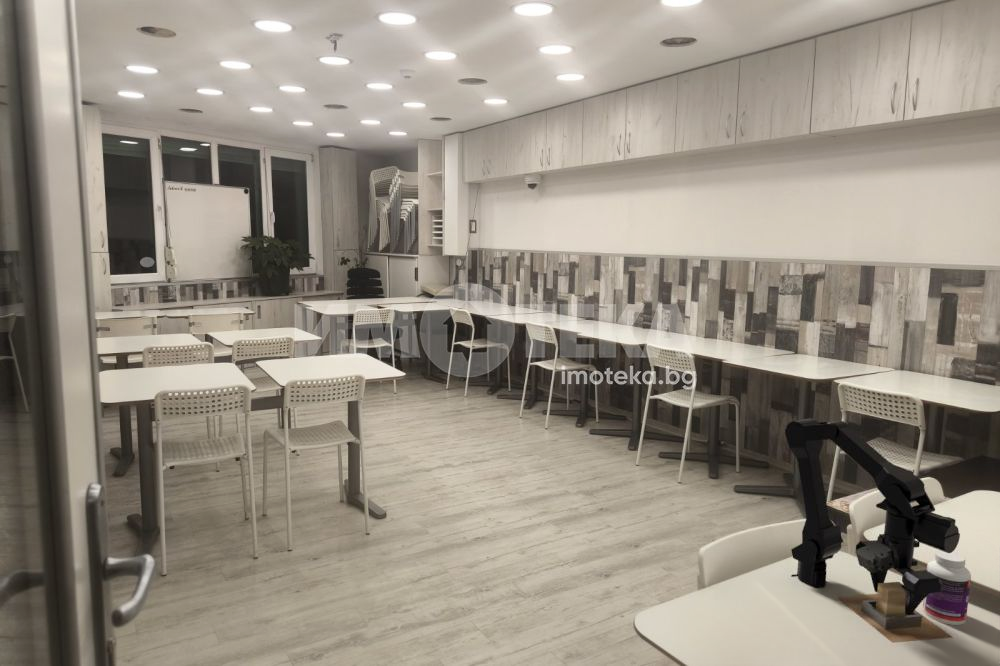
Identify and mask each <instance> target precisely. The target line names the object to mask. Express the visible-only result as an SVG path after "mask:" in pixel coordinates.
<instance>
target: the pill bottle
mask: <svg viewBox="0 0 1000 666" xmlns="http://www.w3.org/2000/svg"><path fill="white" fill-rule="evenodd" d="M926 571H928V572H929V573H931V574H933V575H934V576H936V577H937V578H939V579H940V581H941V582H942V585H941V592H935V593H930V594H929V595H928V596H927V597H925V598H924V599H923V601H922V612H923V614H925V615H926V616H928V618H930V619H932V620H935V621H938V623H939V622H940V623H942V624H947V625H952V626H953V625H954V626H958V625H959V626H960V625H964V624H965V623H966V622H967V618H968V617H967V616H968V607H969V598H970V588H971V580H972V574H971V572H970V570H969V569H968V568H967V567H966V557H964V556H963V555H962V554H960V553H958V552H955V551H953V552H952V553H946V552H944V551H941V550H938V549H937V550H936V551H935V552H934V559H933V560H931V561H929V562H928V563H927V565H926Z"/></svg>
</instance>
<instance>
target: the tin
mask: <svg viewBox="0 0 1000 666" xmlns="http://www.w3.org/2000/svg"><path fill="white" fill-rule="evenodd" d="M876 601H877V600H864V601H862V610H861V611H862V612H864V613H865V614H866V615H867V616H869V617H870V618H871V619H872V620H874V621H875V622H876V623H877V624H879V625H880V626H881V627H882V628H884V629H885V630H888V629H900V628H913V627H921V621H922V616H921V615H922V614H921V613H920V614H921V615H920V614H918V613H917V612H918V611H917V612H915V611H914V612H913V613H912V614H911V615H906V616H893V617H886V616H885V615H884V614H882V613H881V612H880V611H878V610H877V609H876Z"/></svg>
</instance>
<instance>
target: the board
mask: <svg viewBox="0 0 1000 666" xmlns="http://www.w3.org/2000/svg"><path fill="white" fill-rule="evenodd" d="M836 598H837V599H838V600H839V601H840V602H841V603H843V604H844V605H845V606H846V607H848V608H849V609H850V610H852V611H853V612H854V613H855V614H856V615H857V616H859V618H861V619H862V620H864V621H865V622H866V623H868V625H870V626H871V627H872V628H874V629H875V630H876V631H877V632H879V634H881V635H882V636H883V637H884V638H886V639H887V640H888V641H890V642H891V643H900V642H901V643H902V642H903V643H904V642H911V641H914V642H915V641H925V640H927V641H929V640H938V639H949V638H950V639H951V638H953V635H951V634H950V633H948V632H946V630H944V629H942V628H941V627H940V626H939V625H937V624H935V623H934V622H933V621H932V620H930V619H928V618H927V617H926V616H924V615H923V614H921V613H920V612H919V611H917V610H916V609H915V610H914V611H915V612H917V613H918V614H920V615H921V616H922V621H921V627H913V628H900V629H888V630H885V629H884V628H882V627H881V626H880V625H879V624H877V623H876V622H875V621H874V620H872V619H871V618H870V617H869V616H867V615H866V614H865V613H864V612H862V611H861V610H862V601H864V600H877V593H869V594H867V593H866V594H855V595H854V594H852V595H840V596H836Z"/></svg>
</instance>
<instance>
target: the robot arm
mask: <svg viewBox="0 0 1000 666" xmlns="http://www.w3.org/2000/svg"><path fill="white" fill-rule="evenodd" d="M784 436H785V440H786V443H787V445H788V449H790V451H791V453H792V454H793V455H794V457H795V459H796V460H797V461H796V463H797V468H798V474H799V480H800V481H799V482H800V487H801V494H802V500H803V506H804V512H805V522H804V525H803V528H802V531H801V543H800V544H799V545H797V546H795V547H793V548H791V554H792V559H794V560H797V572H796V573H797V574H796V573H795V574H791V575H790V577H793V578H794V577H795V578H796V577H797V579H798V581H799V582H800V583H803V584H805V585H808V586H810V587H813V589H819V588H822V589H823V588H826V584H827V583H826V581H827V566H828V565H827V564H828V563H826V561H827V560H830V559H833V558H834V557H835V554H838V553H839V552H840V550H841V549H842V543H844V542H845V541H844V539H843V537H842V533H841V532H842V527H841V525H840V524H834V523H833V521H832V520H831V519H830V516H829V510H828V504H827V499H826V498H827V497H826V491H825V486H824V480H823V479H824V478H823V474H822V467H821V466H822V465H821V461H820V454H821V452H822V448H823V445H824V440H830V441H831V442H833V443H834V444H835V445H836V446H837V447H838V448H839V449H840V450H841V451H842V452H844V454H846V455H847V456H848V457H849V458H850V459H852V460H853V462H854V463H856V464H857V466H859V467H860V468H861V469H862V470H864V471H865V472H866V473H867V474H868V475H869V476H870V477H871V478H872V480H873V481H874V483H875V487H876V489H877V490H878V491H879V493H880V494H881V495H882V497H884V499H883V500H882V501H880V502H879V503H876V505H875V506H876V508H878V509H881V510H884V511H885V519H884V521H885V522H884V530H883V531H884V532H883V533H880V534H879V535H878V536H877V538H876V539H877V540H876V539H875V540H859V542H857V544H856V545H855V554H856V558H857V562H858V565H859V566H860V567H863V568H864V569H865V570H867V572H869V575H870V577H871V581H872V586H873V589H874V592H875V594H877V591H878V583H885V581H886V577H887V575H888V571H889V570H891V569H893V570H895V571H897V572H898V573H900V574H901V575H902V576H901V577H902V578H901V581H902V582H901V583H902V584H903V585H901V587H902V588H903V589H904V591H905V592H906V596H905V614H906V615H911V614H912V613H913V612H914V610H916V609H917V608H918V607H919V606H920V604H922V603H923V601H924V598H925V597H927V596H928V595H929V594H930V593H935V592H941V585H942V582H941V581H940V579H939V578H937V577H936V576H934V575H933V574H931V573H929V572H928V571H927V569H924V570H914V569H912V567H915V566H916V567H918V562H919V561H918V560H917V559H915V558H914V554H915V553H914V552H915V548H920V544H923V545H926V546H928V547H931V548H932V549H936V550H937V551H938V550H941V551H944V552H946V553H952V552H955V550H956V549H957V546H958V544H959V541H960V538H961V533H960V531H959V527H958V526H957V525H956V521H957V520H956V519H955V518H953V517H949V516H943V515H941V514H938V513H935V511H936V508H935V506H934V504H933V503H932V501H931V499H930V497H929V496H928V493H927V492H926V488H925V483H924V481H922V479H921V478H919V477H918V476H917V475H915V474H914V473H912V472H911V471H909V470H907V469H906V468H904V467H901V466H899V465H896V464H894V463H892V462H891V461H889V460H887V459H886V458H885V457H884V456H883V455H882V454H881V453H880V452H878V451H877V450H876V449H875V448H874V447H872V446H871V445H870V444H869V443H868V442H866V440H864V439H863V438H862V437H861V436H860V435H858V434H857V433H856V432H855V431H854V430H852V428H851V427H850V426H849V424H848V423H847V422H845V421H843V420H835V421H817V420H816V419H814V418H805V419H799V420H794V421H790V422H788V423H787V425H786V426H785V427H784ZM913 503H917V504H916V505H914V506H913V505H911V504H913Z"/></svg>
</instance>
